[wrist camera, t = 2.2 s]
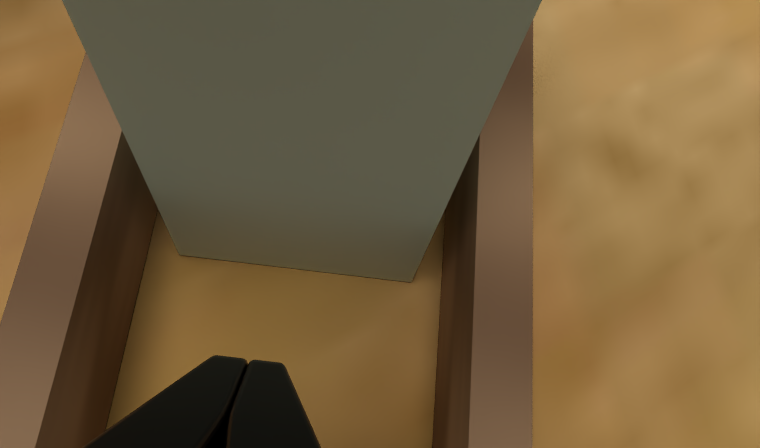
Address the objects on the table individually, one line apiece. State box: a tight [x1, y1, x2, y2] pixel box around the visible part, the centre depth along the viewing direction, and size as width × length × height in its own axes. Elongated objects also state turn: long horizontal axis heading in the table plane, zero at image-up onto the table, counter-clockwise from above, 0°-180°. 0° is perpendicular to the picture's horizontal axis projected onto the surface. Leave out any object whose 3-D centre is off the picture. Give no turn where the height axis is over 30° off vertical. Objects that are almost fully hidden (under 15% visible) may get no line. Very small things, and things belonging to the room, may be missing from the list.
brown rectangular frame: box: [0, 20, 533, 448], centre depth 15 cm, size 18×10×4 cm, turn 175°
